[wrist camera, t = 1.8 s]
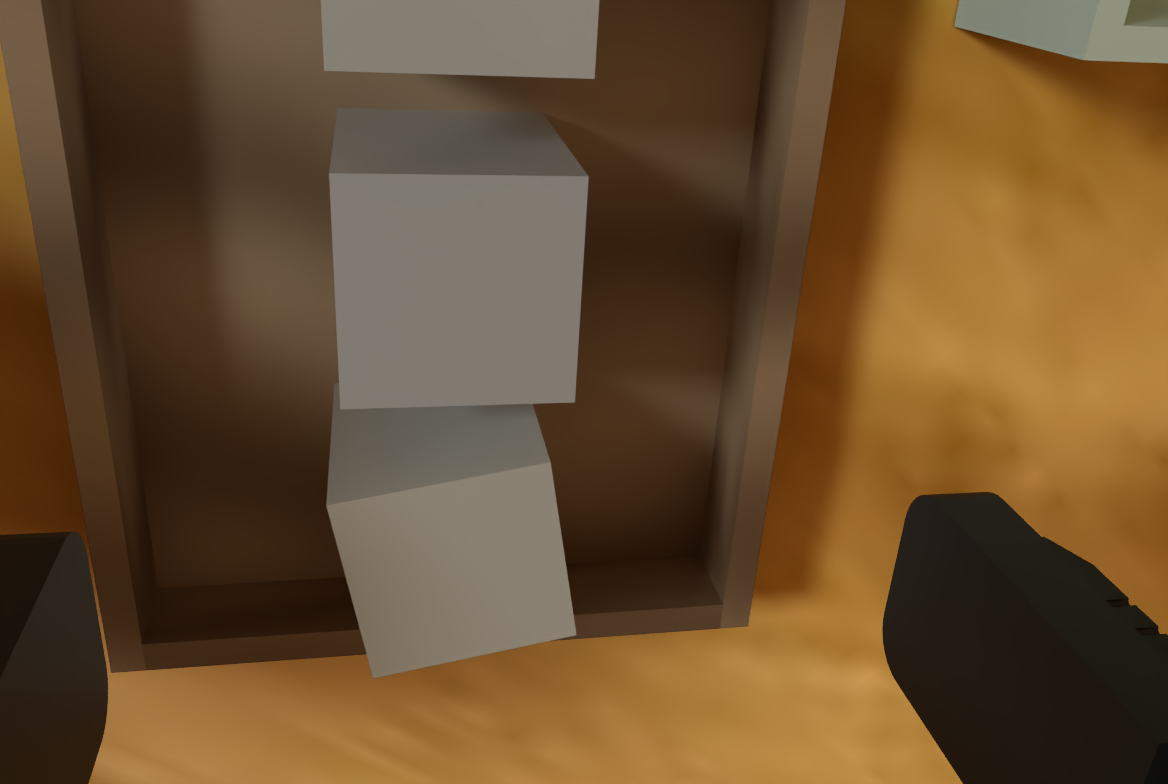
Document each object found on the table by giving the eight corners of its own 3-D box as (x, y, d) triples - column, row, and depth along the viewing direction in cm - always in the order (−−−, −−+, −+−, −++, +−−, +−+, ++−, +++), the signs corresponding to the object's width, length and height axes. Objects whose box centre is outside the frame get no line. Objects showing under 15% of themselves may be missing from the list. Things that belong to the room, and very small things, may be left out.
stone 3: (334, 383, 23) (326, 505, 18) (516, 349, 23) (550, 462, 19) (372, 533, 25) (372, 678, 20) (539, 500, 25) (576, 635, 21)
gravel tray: (-23, -406, 16) (-87, -452, 14) (835, -315, 19) (899, -340, 17) (135, 598, 25) (110, 672, 23) (716, 563, 28) (747, 626, 25)
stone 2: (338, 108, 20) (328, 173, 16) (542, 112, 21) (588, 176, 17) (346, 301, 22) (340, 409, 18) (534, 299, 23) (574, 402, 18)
